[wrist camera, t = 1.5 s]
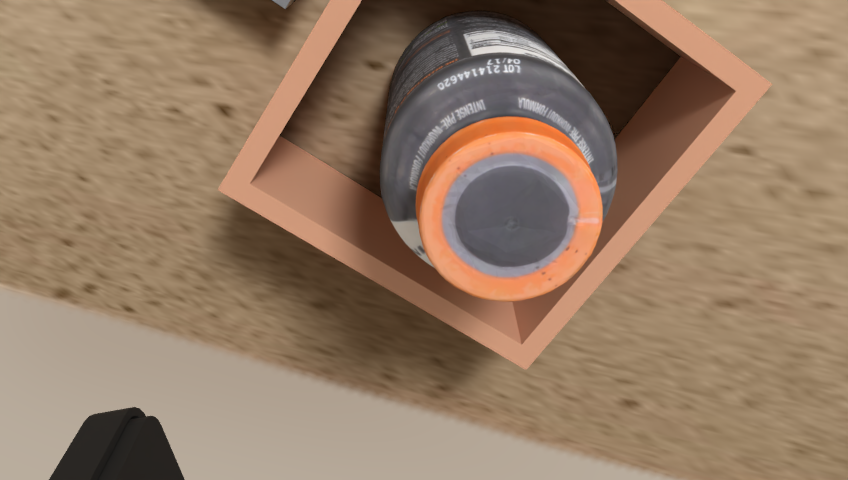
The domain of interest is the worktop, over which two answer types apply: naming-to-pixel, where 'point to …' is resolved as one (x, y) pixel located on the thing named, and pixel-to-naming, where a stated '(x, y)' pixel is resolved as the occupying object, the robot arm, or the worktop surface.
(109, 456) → the robot arm
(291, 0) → the charcoal tray
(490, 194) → the pill bottle
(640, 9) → the frame
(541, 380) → the worktop surface
